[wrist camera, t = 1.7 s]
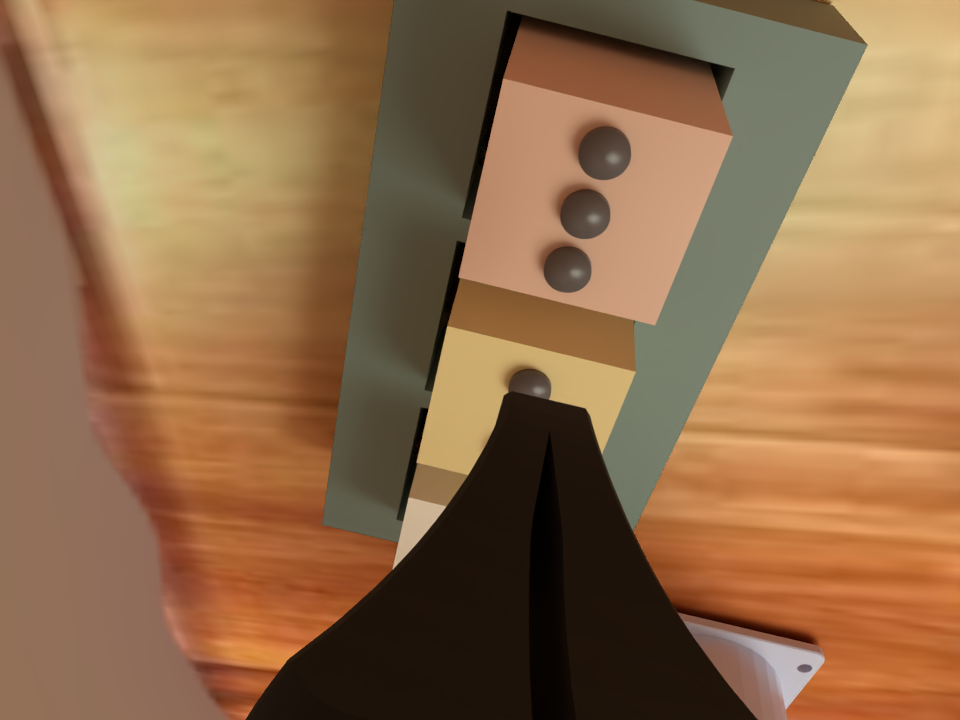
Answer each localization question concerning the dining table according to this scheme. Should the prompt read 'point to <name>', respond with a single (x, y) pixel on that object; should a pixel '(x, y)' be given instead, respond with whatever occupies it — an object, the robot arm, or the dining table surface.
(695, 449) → the dining table surface
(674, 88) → the toy block
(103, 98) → the dining table surface
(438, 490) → the toy block
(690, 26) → the toy block sorting board
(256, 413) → the dining table surface
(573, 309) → the toy block
